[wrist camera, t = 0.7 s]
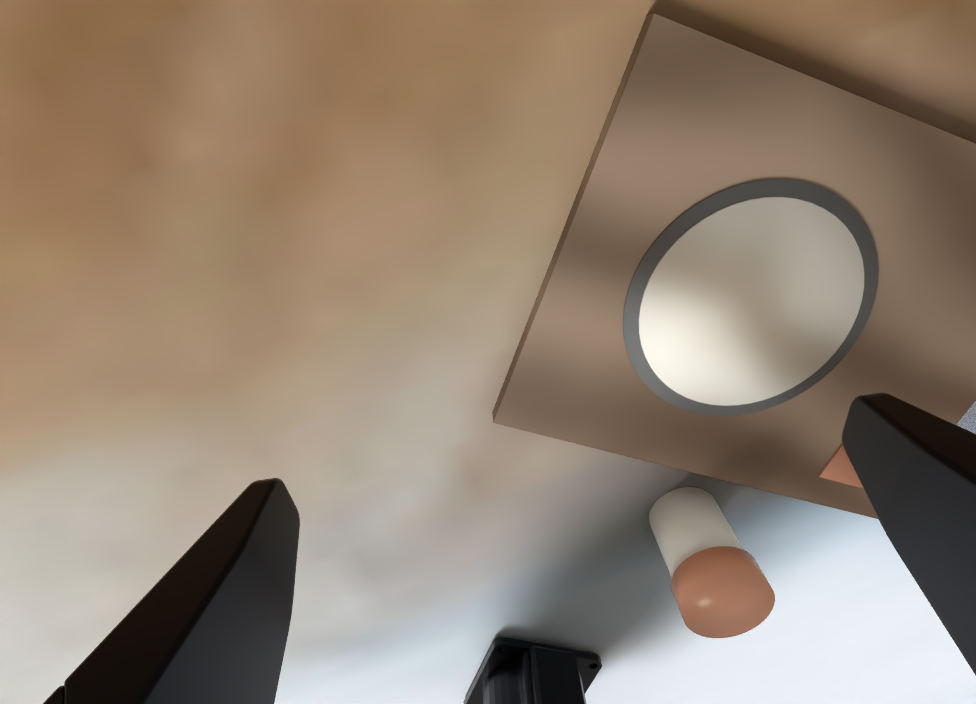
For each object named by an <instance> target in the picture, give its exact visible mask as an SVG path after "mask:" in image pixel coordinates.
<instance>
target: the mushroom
mask: <svg viewBox="0 0 976 704" xmlns="http://www.w3.org/2000/svg"><path fill="white" fill-rule="evenodd" d="M649 523H650V526H651V528H652V531H653V533H654V536H655V538H656V541H657V543H658V546H659V548H660V551H661V553H662V555H663V558H664V560H665V563H666V565H667V568H668V570H669V573H670V575H671V577H672V580H671V589H672V592H673V594H674V597H675V599H676V602H677V604H678V607H679V609H680V612H681V614H682V617H683V619H684V622H685V624H686V625H687V627H688V628H689V629H690V630H691V631H693V632H694V633H696V634H698V635H701V636H704V637H710V638H726V637H732V636H736V635H739V634H742V633H745V632H747V631H749V630H751V629H753V628H755V627H756V626H758V625H759V624H760V623H761V622H763V621H764V620H765V619H766V618H767V616H768V615H769V614H770V612H771V610H772V608H773V606H774V601H775V595H774V592H773V590H772V588H771V586H770V584H769V583H768V581H767V579H766V578H765V576H764V574H763V572H762V571H761V569H760V567H759V566H758V564H757V562H756V561H755V559H754V558H753V556H752V555H750V554H749V553H748V552H746V551H744V549H743V548H742V546H741V544H740V542H739V541H738V539H737V537H736V536H735V534H734V532H733V530H732V529H731V527H730V525H729V523H728V522H727V520H726V518H725V517H724V515H723V513H722V511H721V510H720V508H719V506H718V504H717V503H716V501H715V499H714V498H713V496H712V495H711V494H710V493H708V492H707V491H705V490H703V489H700V488H695V487H684V488H678V489H675V490H672V491H670V492H668V493H666V494H664V495H663V496H661V497H660V498H659V499H658V500H657V501H656V502H655V503H654V505H653V506H652V508H651V510H650V513H649Z"/></svg>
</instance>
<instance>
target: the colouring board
mask: <svg viewBox="0 0 976 704" xmlns="http://www.w3.org/2000/svg"><path fill="white" fill-rule="evenodd" d="M879 392H882V393H887V394H890V395H892V396H894V397H897V398H899V399H901V400H903V401H905V402H907V403H909V404H912V405H914V406H916V407H918V408H920V409H922V410H925V411H927V412H929V413H931V414H933V415H935V416H937V417H940V418H942V419H944V420H946V421H948V422H950V423H952V424H955V425H956V424H957V423H958V421H959V420H960V419H961V418H962V416H963V415H964V414H965V413H966V412H967V410H968V409H969V408H970V407H971V405H972V404H973V403H974V402H975V400H976V143H973V142H971V141H968V140H966V139H963V138H961V137H958V136H956V135H953V134H951V133H948V132H946V131H944V130H941V129H939V128H936V127H934V126H931V125H929V124H926V123H924V122H921V121H919V120H916V119H914V118H911V117H909V116H907V115H904V114H902V113H899V112H897V111H894V110H892V109H889V108H887V107H884V106H882V105H879V104H877V103H874V102H872V101H869V100H867V99H865V98H862V97H860V96H857V95H855V94H852V93H850V92H847V91H845V90H842V89H840V88H837V87H835V86H832V85H830V84H828V83H825V82H823V81H820V80H818V79H815V78H813V77H810V76H808V75H805V74H803V73H800V72H798V71H795V70H793V69H791V68H788V67H786V66H783V65H781V64H778V63H776V62H773V61H771V60H768V59H766V58H763V57H761V56H758V55H756V54H754V53H751V52H749V51H746V50H744V49H741V48H739V47H736V46H734V45H731V44H729V43H726V42H724V41H721V40H719V39H717V38H714V37H712V36H709V35H707V34H704V33H702V32H699V31H697V30H694V29H692V28H689V27H687V26H684V25H682V24H680V23H677V22H675V21H672V20H670V19H667V18H665V17H662V16H660V15H657V14H655V13H654V14H649V15H647V16H646V19H645V22H644V24H643V27H642V29H641V32H640V34H639V37H638V40H637V42H636V45H635V47H634V50H633V52H632V55H631V58H630V60H629V63H628V65H627V68H626V70H625V73H624V76H623V78H622V81H621V83H620V86H619V88H618V91H617V94H616V96H615V99H614V101H613V104H612V106H611V109H610V112H609V114H608V117H607V119H606V122H605V124H604V127H603V130H602V132H601V135H600V137H599V140H598V142H597V145H596V148H595V150H594V153H593V155H592V158H591V160H590V163H589V166H588V168H587V171H586V173H585V176H584V178H583V181H582V184H581V186H580V189H579V191H578V194H577V196H576V199H575V202H574V204H573V207H572V209H571V212H570V214H569V217H568V220H567V222H566V225H565V227H564V230H563V232H562V235H561V238H560V240H559V243H558V245H557V248H556V250H555V253H554V256H553V258H552V261H551V263H550V266H549V269H548V271H547V274H546V276H545V279H544V281H543V284H542V287H541V289H540V292H539V294H538V297H537V299H536V302H535V305H534V307H533V310H532V312H531V315H530V317H529V320H528V323H527V325H526V328H525V330H524V333H523V335H522V338H521V341H520V343H519V346H518V348H517V351H516V353H515V356H514V359H513V361H512V364H511V366H510V369H509V371H508V374H507V377H506V379H505V382H504V384H503V387H502V389H501V392H500V395H499V397H498V400H497V402H496V405H495V407H494V410H493V423H496V424H500V425H504V426H508V427H512V428H516V429H520V430H524V431H528V432H532V433H536V434H540V435H544V436H548V437H552V438H556V439H560V440H564V441H568V442H572V443H576V444H580V445H584V446H588V447H592V448H596V449H600V450H604V451H608V452H612V453H616V454H620V455H624V456H628V457H632V458H636V459H640V460H644V461H648V462H652V463H656V464H660V465H664V466H668V467H672V468H676V469H680V470H684V471H688V472H692V473H696V474H700V475H704V476H708V477H712V478H716V479H720V480H724V481H728V482H732V483H736V484H740V485H744V486H748V487H752V488H756V489H760V490H764V491H768V492H772V493H776V494H780V495H784V496H788V497H792V498H796V499H800V500H804V501H808V502H812V503H816V504H820V505H824V506H828V507H832V508H836V509H840V510H844V511H848V512H853V513H857V514H861V515H865V516H869V517H873V518H877V519H878V517H877V515H876V513H875V511H874V509H873V507H872V504H871V502H870V500H869V498H868V496H867V494H866V492H865V490H864V488H863V486H862V484H861V482H860V480H859V478H858V476H857V474H856V472H855V470H854V468H853V466H852V464H851V462H850V460H849V458H848V456H847V454H846V452H845V450H844V447H843V444H842V432H843V428H844V425H845V422H846V418H847V415H848V411H849V408H850V405H851V402H852V400H853V399H854V398H855V397H856V396H859V395H864V394H872V393H879Z"/></svg>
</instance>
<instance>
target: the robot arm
mask: <svg viewBox="0 0 976 704" xmlns="http://www.w3.org/2000/svg"><path fill="white" fill-rule="evenodd" d="M842 444H843V447H844V450H845V452H846V454H847V456H848V458H849V460H850V462H851V464H852V466H853V468H854V470H855V472H856V474H857V476H858V478H859V480H860V482H861V484H862V486H863V488H864V490H865V492H866V494H867V496H868V498H869V500H870V502H871V504H872V507H873V509H874V511H875V513H876V515H877V517H878V519H879V521H880V523H881V525H882V526H883V528H884V530H885V532H886V534H887V536H888V537H889V539H890V541H891V542H892V544H893V546H894V547H895V549H896V551H897V552H898V554H899V555H900V557H901V559H902V560H903V562H904V563H905V565H906V566H907V568H908V570H909V571H910V573H911V574H912V576H913V577H914V579H915V581H916V582H917V584H918V585H919V587H920V588H921V590H922V592H923V593H924V595H925V596H926V598H927V599H928V601H929V603H930V604H931V606H932V607H933V609H934V610H935V612H936V614H937V615H938V617H939V618H940V620H941V621H942V623H943V625H944V626H945V628H946V629H947V631H948V632H949V634H950V636H951V637H952V639H953V640H954V642H955V643H956V645H957V647H958V648H959V650H960V651H961V653H962V654H963V656H964V658H965V659H966V661H967V662H968V664H969V665H970V667H971V669H972V670H973V672H974V673H975V675H976V434H974V433H972V432H970V431H968V430H965V429H963V428H961V427H959V426H957V425H955V424H952V423H950V422H948V421H946V420H944V419H942V418H940V417H937V416H935V415H933V414H931V413H929V412H927V411H925V410H922V409H920V408H918V407H916V406H914V405H912V404H909V403H907V402H905V401H903V400H901V399H899V398H897V397H894V396H892V395H890V394H887V393H882V392H879V393H872V394H864V395H859V396H856V397H855V398H854V399H853V400H852V402H851V405H850V408H849V411H848V415H847V418H846V422H845V425H844V428H843V432H842ZM299 528H300V518H299V513H298V510H297V508H296V506H295V504H294V502H293V500H292V498H291V496H290V494H289V492H288V490H287V488H286V486H285V484H284V483H283V481H282V480H280V479H279V478H272V479H265V480H258V481H255V482H253V483H251V484H250V485H249V486H248V487H247V488H246V489H245V490H244V491H243V492H242V494H241V495H240V496H239V497H238V498H237V499H236V500H235V501H234V502H233V503H232V504H231V505H230V506H229V507H228V508H227V509H226V511H225V512H224V513H223V514H222V515H221V516H220V517H219V518H218V519H217V520H216V521H215V522H214V523H213V524H212V525H211V526H210V527H209V529H208V530H207V531H206V532H205V533H204V534H203V535H202V536H201V537H200V538H199V539H198V540H197V541H196V542H195V543H194V544H193V546H192V547H191V548H190V549H189V550H188V551H187V552H186V553H185V554H184V555H183V556H182V557H181V558H180V559H179V560H178V561H177V562H176V564H175V565H174V566H173V567H172V568H171V569H170V570H169V571H168V572H167V573H166V574H165V575H164V576H163V577H162V578H161V579H160V580H159V582H158V583H157V584H156V585H155V586H154V587H153V588H152V589H151V590H150V591H149V592H148V593H147V594H146V595H145V596H144V597H143V599H142V600H141V601H140V602H139V603H138V604H137V605H136V606H135V607H134V608H133V609H132V610H131V611H130V612H129V613H128V614H127V615H126V617H125V618H124V619H123V620H122V621H121V622H120V623H119V624H118V625H117V626H116V627H115V628H114V629H113V630H112V631H111V632H110V633H109V635H108V636H107V637H106V638H105V639H104V640H103V641H102V642H101V643H100V644H99V645H98V646H97V647H96V648H95V649H94V650H93V652H92V653H91V654H90V655H89V656H88V657H87V658H86V659H85V660H84V661H83V662H82V663H81V664H80V665H79V666H78V667H77V668H76V670H75V671H74V672H73V673H72V674H71V675H70V676H69V677H68V678H67V679H66V680H65V683H64V686H60V687H58V688H57V689H56V690H55V692H54V693H53V694H52V695H51V696H50V697H49V698H48V699H47V700H46V701H45V702H44V703H43V704H274V701H275V696H276V691H277V686H278V681H279V676H280V671H281V666H282V661H283V656H284V651H285V646H286V641H287V636H288V632H289V626H290V620H291V614H292V605H293V595H294V584H295V573H296V561H297V550H298V539H299ZM601 667H602V663H601V659H600V656H598V655H596V654H592V653H586V652H581V651H575V650H570V649H564V648H559V647H553V646H548V645H542V644H536V643H531V642H525V641H520V640H514V639H509V638H497V639H495V640H494V641H493V643H492V645H491V647H490V649H489V651H488V653H487V655H486V657H485V659H484V661H483V663H482V665H481V667H480V670H479V672H478V674H477V676H476V678H475V680H474V682H473V684H472V686H471V688H470V690H469V692H468V694H467V696H466V698H465V700H464V704H586V700H585V695H584V694H585V692H586V691H587V689H588V688H589V686H590V685H591V683H592V681H593V680H594V678H595V677H596V675H597V673H598V672H599V670H600V669H601Z"/></svg>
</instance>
